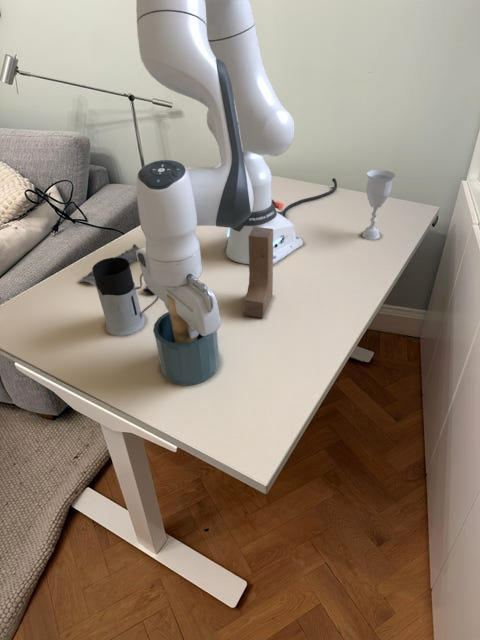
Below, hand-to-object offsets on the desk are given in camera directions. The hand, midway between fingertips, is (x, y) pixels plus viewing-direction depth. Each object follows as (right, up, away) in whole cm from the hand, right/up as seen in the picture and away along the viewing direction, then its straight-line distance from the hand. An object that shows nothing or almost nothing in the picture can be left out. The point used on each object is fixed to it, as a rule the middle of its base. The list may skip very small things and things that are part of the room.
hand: (184, 327), depth 81 cm
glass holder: (-13, +1, +17) cm, 21 cm away
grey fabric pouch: (-23, +16, +37) cm, 46 cm away
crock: (0, -7, +6) cm, 9 cm away
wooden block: (+15, +5, +20) cm, 26 cm away
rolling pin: (0, -6, +5) cm, 8 cm away
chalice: (+49, +26, +46) cm, 72 cm away
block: (-11, +9, +28) cm, 31 cm away
